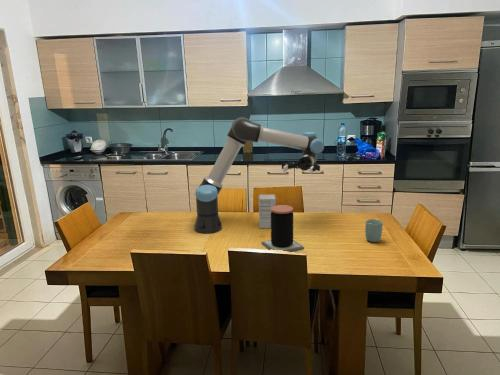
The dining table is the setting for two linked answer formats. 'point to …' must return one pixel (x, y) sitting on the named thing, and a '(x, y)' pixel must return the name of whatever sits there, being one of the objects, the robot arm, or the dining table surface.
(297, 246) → the mat
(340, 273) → the dining table surface
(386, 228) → the dining table surface
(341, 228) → the dining table surface
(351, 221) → the dining table surface
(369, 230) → the cup
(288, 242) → the coffee jar
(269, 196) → the supplement box
